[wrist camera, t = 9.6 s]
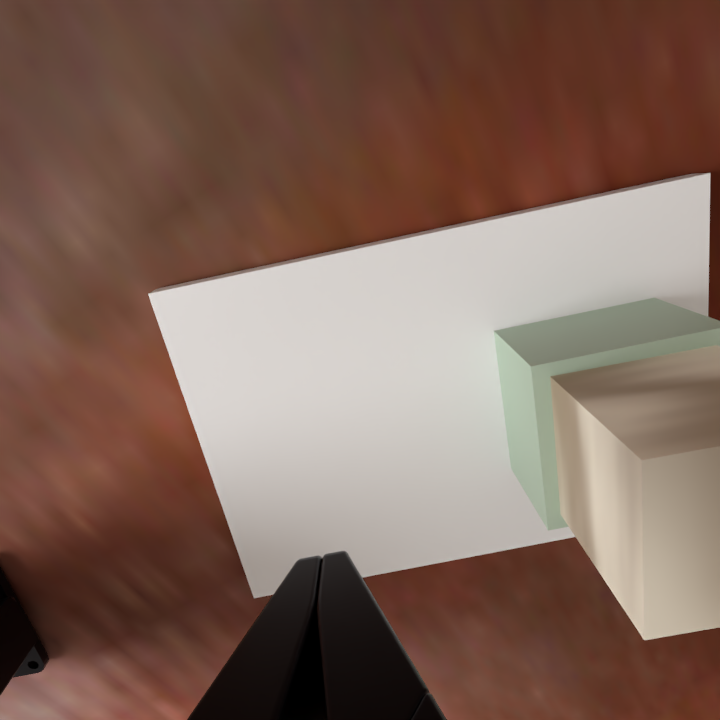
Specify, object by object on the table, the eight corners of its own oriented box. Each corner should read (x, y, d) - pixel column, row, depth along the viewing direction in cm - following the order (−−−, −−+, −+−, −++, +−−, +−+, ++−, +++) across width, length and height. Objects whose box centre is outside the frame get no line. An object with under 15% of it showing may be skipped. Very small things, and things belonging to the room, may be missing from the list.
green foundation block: (511, 468, 21) (548, 530, 17) (493, 330, 19) (530, 366, 15) (657, 439, 21) (727, 496, 17) (654, 297, 19) (732, 325, 15)
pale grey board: (257, 582, 24) (254, 598, 23) (157, 288, 19) (147, 294, 18) (690, 498, 23) (705, 511, 22) (691, 173, 18) (710, 172, 18)
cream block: (560, 514, 17) (644, 640, 12) (550, 376, 15) (641, 460, 11) (711, 486, 17) (854, 604, 12) (716, 344, 15) (884, 415, 11)
